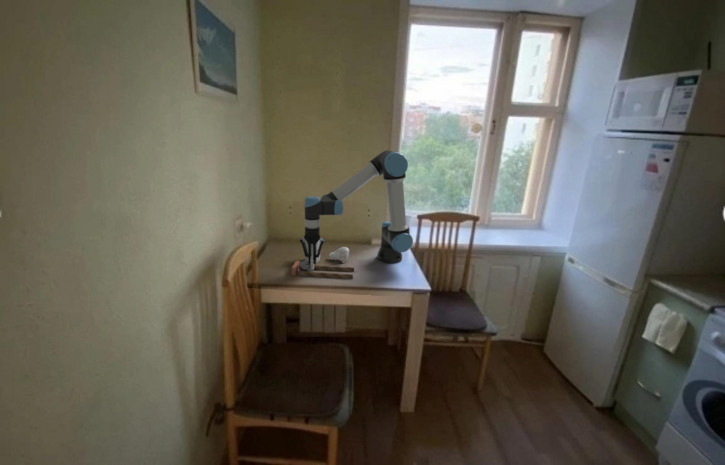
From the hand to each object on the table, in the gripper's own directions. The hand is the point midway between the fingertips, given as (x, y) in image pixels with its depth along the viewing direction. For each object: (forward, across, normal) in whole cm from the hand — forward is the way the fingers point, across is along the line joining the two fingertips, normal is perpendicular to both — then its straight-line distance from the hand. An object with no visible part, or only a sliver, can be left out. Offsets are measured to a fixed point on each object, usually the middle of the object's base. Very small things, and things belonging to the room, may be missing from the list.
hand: (312, 269), depth 181 cm
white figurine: (+2, -12, -19) cm, 23 cm away
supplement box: (+2, +3, -16) cm, 17 cm away
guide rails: (+2, -7, 0) cm, 7 cm away
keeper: (+2, +4, 0) cm, 4 cm away
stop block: (+2, +9, 0) cm, 9 cm away
